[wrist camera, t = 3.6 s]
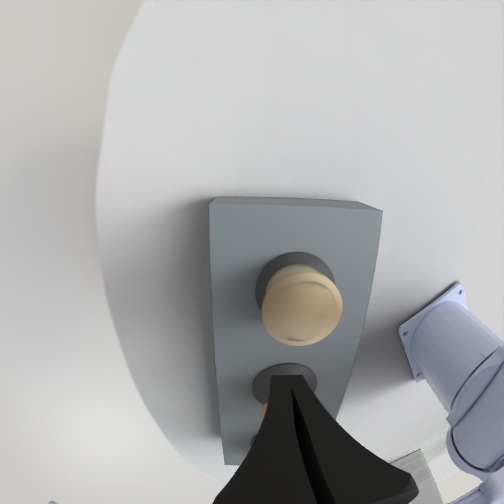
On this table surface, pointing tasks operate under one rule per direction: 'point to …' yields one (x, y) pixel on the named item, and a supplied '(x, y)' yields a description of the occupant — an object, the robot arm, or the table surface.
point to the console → (254, 289)
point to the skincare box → (420, 478)
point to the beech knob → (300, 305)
